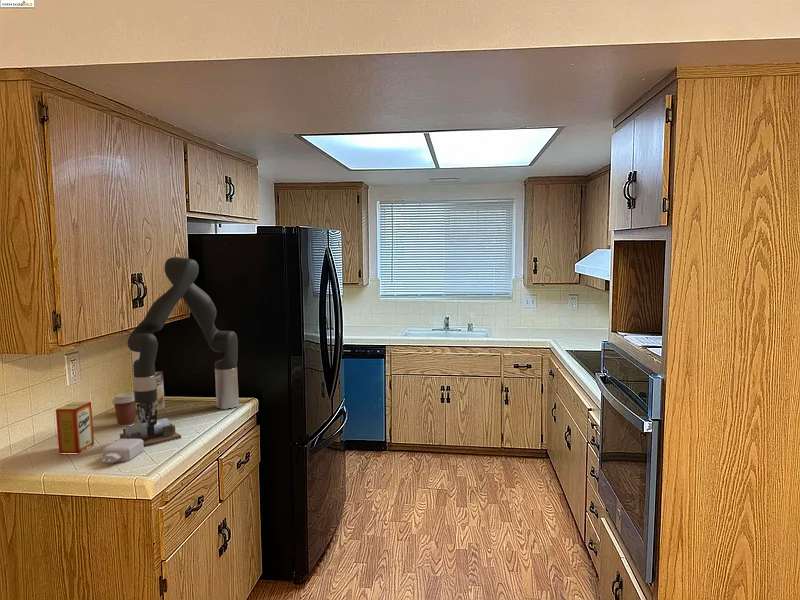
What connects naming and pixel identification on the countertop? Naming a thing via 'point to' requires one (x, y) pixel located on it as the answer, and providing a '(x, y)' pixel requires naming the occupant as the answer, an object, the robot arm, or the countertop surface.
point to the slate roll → (143, 428)
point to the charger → (122, 450)
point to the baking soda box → (74, 427)
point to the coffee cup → (125, 408)
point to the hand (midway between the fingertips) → (148, 434)
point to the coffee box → (159, 392)
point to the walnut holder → (155, 436)
